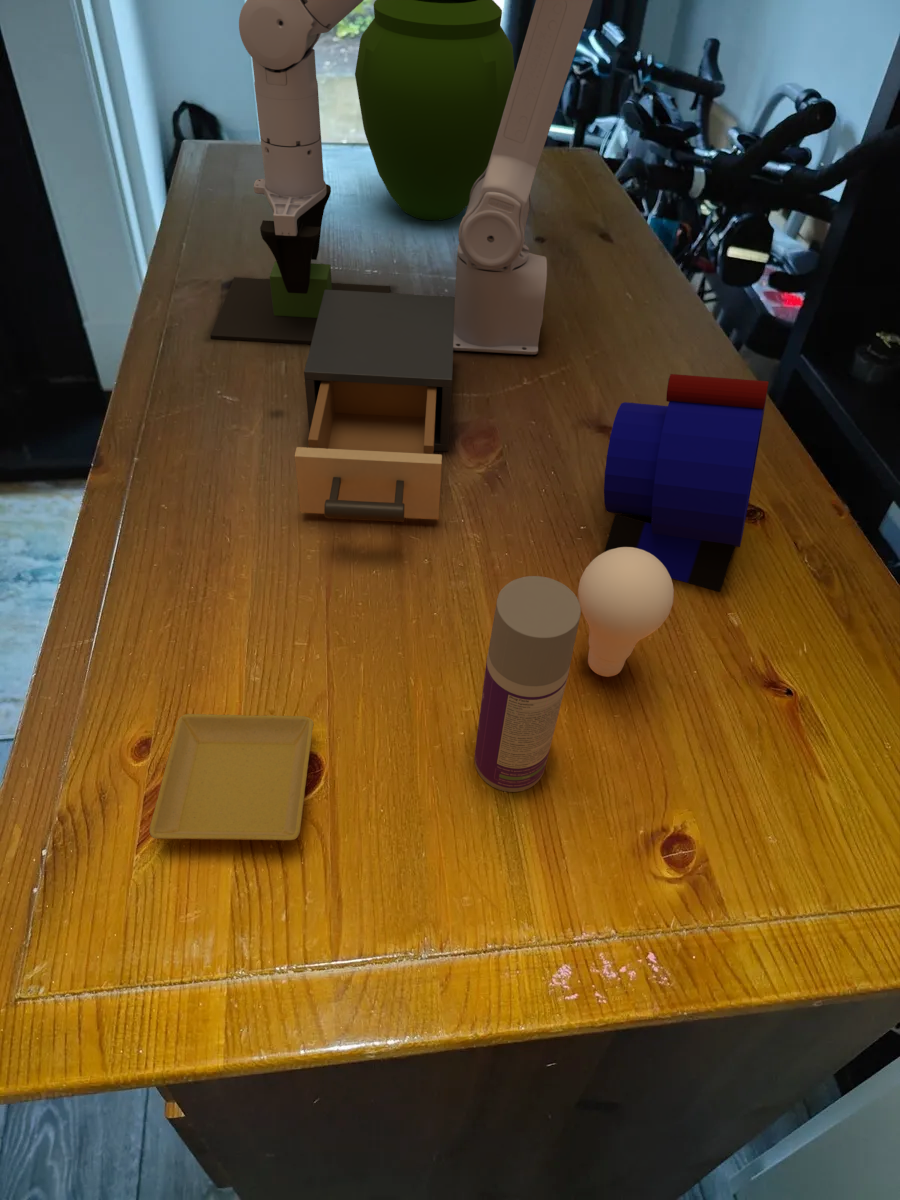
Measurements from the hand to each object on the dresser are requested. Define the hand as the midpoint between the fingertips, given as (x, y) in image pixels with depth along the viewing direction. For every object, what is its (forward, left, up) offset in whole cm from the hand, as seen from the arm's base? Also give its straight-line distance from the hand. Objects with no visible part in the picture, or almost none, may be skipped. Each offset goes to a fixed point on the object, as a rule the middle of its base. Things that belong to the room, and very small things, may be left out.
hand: (302, 274), depth 90 cm
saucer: (-4, +59, -5) cm, 60 cm away
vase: (-13, -30, -5) cm, 33 cm away
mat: (0, 0, -4) cm, 4 cm away
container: (-21, +56, -5) cm, 60 cm away
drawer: (-10, +30, -4) cm, 31 cm away
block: (0, 0, -4) cm, 4 cm away
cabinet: (-10, +16, -4) cm, 20 cm away
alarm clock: (-35, +32, -5) cm, 48 cm away
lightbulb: (-28, +48, -5) cm, 56 cm away
